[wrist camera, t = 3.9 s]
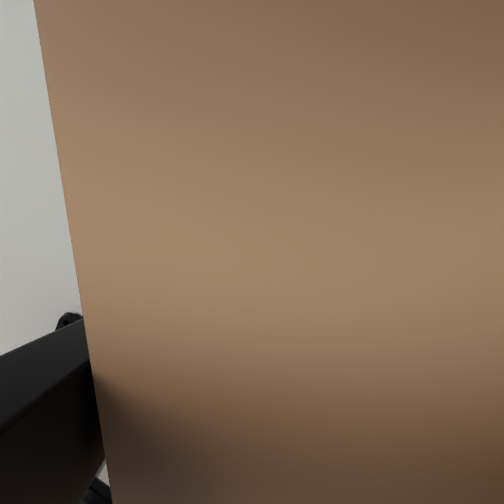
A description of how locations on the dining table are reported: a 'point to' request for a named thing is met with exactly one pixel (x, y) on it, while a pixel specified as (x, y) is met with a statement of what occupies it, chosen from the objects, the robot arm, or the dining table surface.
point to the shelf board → (287, 244)
